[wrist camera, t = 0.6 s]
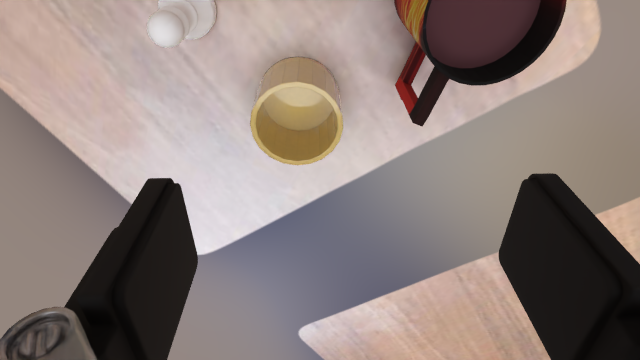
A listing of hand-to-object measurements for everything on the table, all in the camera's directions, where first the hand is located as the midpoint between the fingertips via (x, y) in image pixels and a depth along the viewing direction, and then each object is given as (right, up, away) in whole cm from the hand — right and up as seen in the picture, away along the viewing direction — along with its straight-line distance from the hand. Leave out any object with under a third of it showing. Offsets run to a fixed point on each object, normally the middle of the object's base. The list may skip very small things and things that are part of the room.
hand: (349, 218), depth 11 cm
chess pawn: (-13, +17, +27) cm, 35 cm away
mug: (+11, +17, +27) cm, 34 cm away
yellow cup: (-3, +10, +32) cm, 34 cm away
